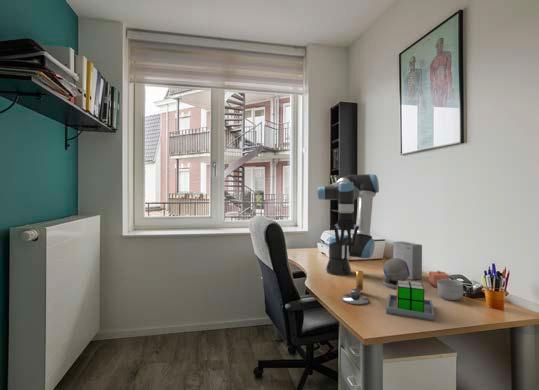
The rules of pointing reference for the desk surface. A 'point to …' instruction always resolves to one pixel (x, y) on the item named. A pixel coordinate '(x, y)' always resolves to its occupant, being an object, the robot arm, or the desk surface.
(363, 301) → the crank base
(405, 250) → the hard drive box
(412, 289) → the puzzle cube
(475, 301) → the desk surface
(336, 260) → the robot arm
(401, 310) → the tray
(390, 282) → the webcam
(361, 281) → the crank lever
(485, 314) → the desk surface
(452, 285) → the teacup
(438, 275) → the pink cube teapot
